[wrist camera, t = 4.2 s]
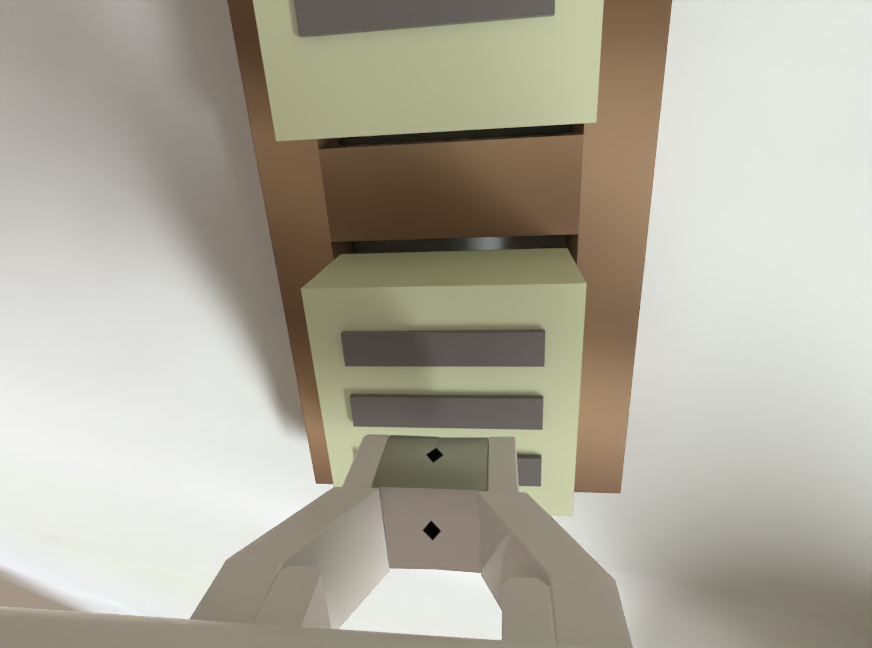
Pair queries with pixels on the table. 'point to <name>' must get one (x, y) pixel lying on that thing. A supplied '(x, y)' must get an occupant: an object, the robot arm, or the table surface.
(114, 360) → the table surface
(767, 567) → the table surface
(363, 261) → the tile three
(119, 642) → the robot arm
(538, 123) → the tile two
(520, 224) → the frame
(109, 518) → the table surface
